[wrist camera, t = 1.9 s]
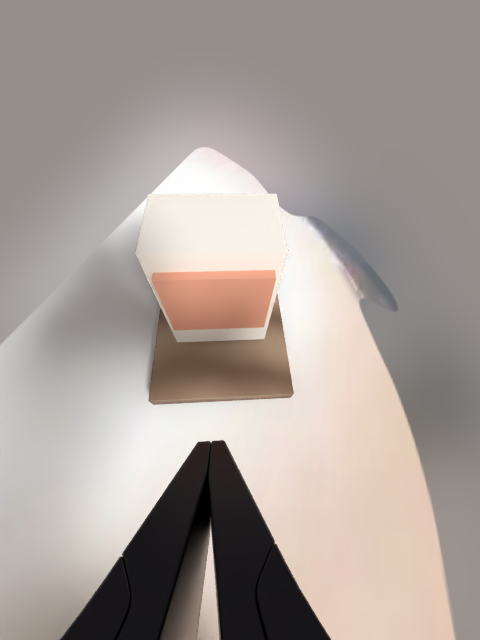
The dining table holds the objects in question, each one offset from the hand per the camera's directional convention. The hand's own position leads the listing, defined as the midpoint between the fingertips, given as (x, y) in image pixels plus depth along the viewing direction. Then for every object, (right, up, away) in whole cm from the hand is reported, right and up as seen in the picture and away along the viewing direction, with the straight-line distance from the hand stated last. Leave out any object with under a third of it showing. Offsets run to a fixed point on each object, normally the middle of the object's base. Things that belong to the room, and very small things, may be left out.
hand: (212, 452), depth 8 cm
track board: (-1, +4, +17) cm, 18 cm away
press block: (-1, +4, +16) cm, 16 cm away
